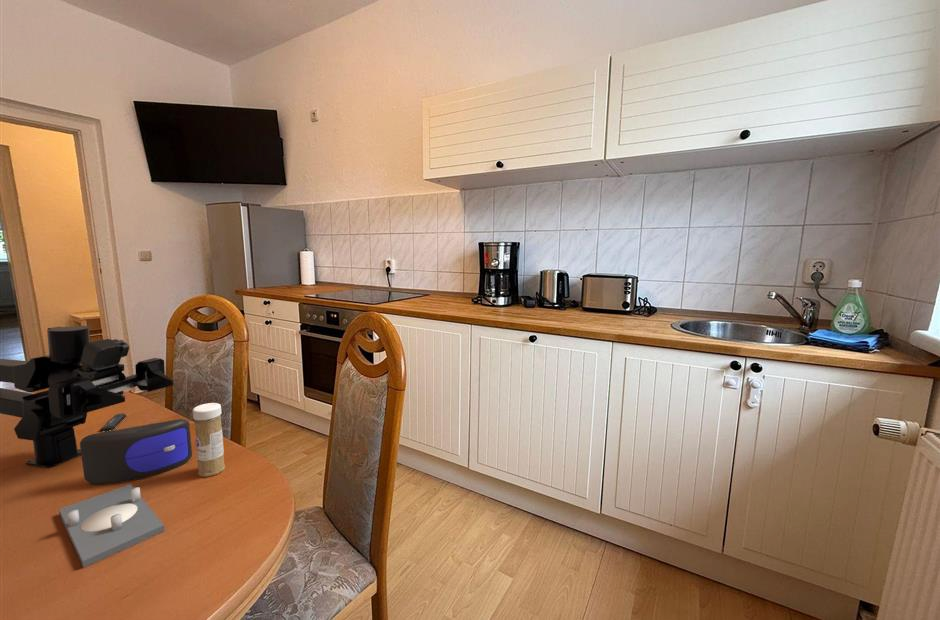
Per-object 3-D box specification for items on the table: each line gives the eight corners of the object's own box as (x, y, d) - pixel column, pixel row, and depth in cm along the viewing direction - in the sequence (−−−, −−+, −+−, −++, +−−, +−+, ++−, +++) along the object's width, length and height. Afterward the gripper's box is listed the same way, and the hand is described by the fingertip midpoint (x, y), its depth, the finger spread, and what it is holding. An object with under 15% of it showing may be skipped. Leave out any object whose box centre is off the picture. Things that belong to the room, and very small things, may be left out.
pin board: (59, 514, 63) (57, 497, 62) (131, 489, 70) (129, 473, 70) (83, 567, 52) (80, 547, 52) (164, 530, 60) (162, 513, 59)
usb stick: (114, 419, 101) (113, 413, 100) (127, 417, 102) (126, 412, 102) (99, 434, 92) (99, 428, 92) (114, 432, 93) (113, 426, 93)
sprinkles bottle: (192, 474, 75) (186, 408, 73) (215, 463, 79) (210, 400, 77) (208, 479, 73) (203, 412, 72) (231, 468, 77) (226, 404, 76)
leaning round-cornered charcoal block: (79, 494, 68) (73, 444, 67) (86, 482, 72) (80, 434, 71) (191, 468, 77) (187, 423, 76) (192, 458, 81) (189, 415, 80)
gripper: (17, 351, 66) (90, 362, 63) (131, 331, 84) (192, 339, 81) (23, 413, 67) (95, 426, 64) (134, 380, 85) (194, 389, 83)
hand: (149, 390), depth 73 cm, fingers open, 9 cm apart
